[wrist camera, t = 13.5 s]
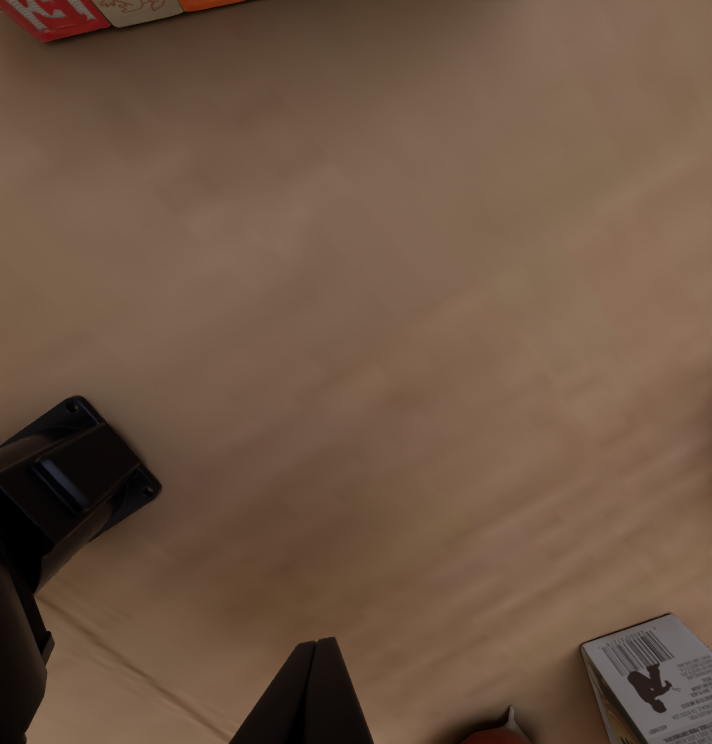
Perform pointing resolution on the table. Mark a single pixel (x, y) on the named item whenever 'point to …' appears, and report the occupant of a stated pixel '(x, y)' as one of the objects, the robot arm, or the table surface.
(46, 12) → the stack of blocks
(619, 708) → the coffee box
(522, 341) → the table surface
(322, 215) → the table surface
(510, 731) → the fruit
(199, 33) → the table surface
